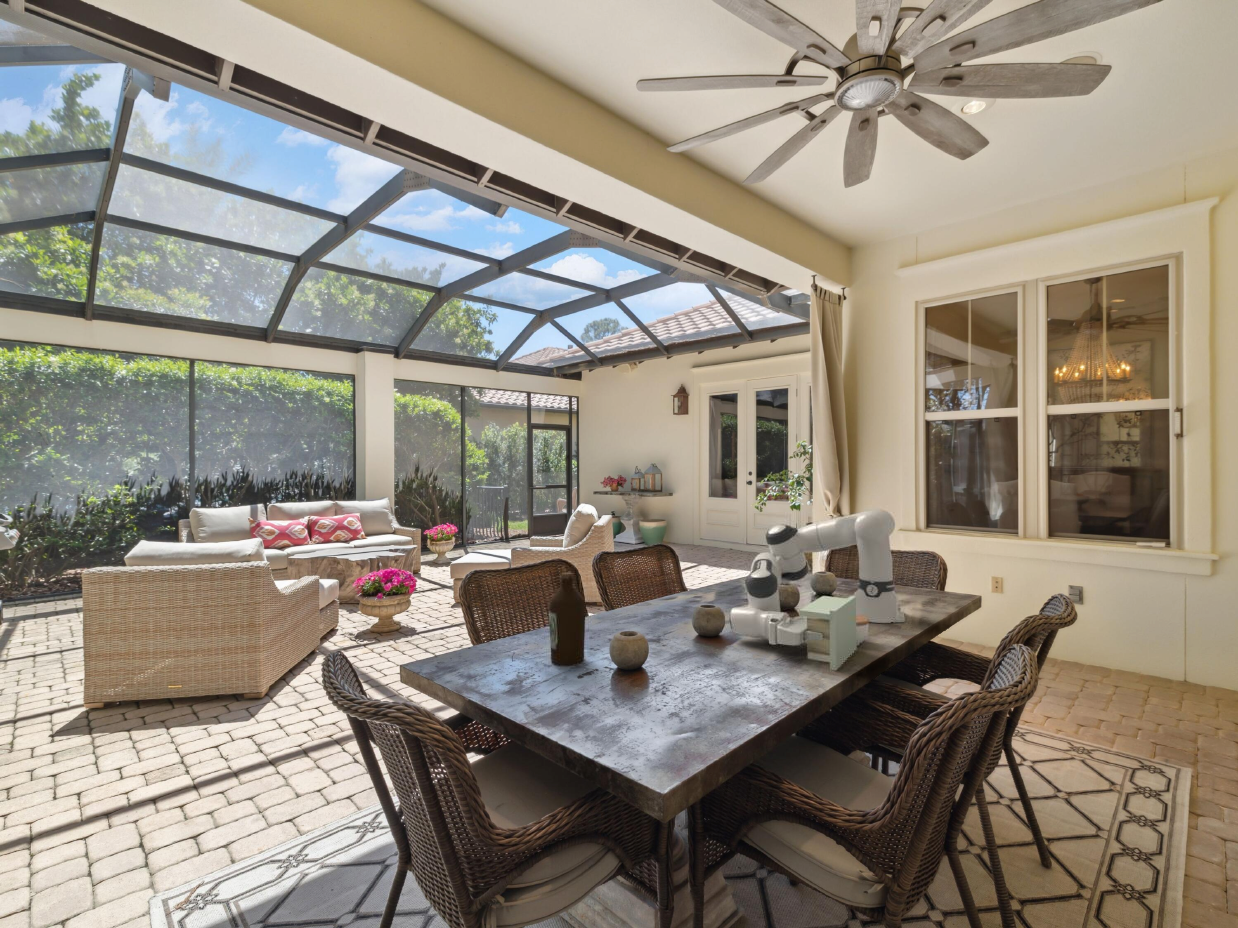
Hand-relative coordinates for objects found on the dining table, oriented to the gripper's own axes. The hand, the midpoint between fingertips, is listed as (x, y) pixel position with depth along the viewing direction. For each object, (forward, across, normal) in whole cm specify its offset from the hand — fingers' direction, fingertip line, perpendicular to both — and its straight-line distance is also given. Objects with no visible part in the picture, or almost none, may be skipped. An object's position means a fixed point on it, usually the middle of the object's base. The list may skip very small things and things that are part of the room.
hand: (826, 633), depth 172 cm
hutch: (+1, 0, -6) cm, 6 cm away
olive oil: (-60, +45, -7) cm, 75 cm away
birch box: (-1, 0, -6) cm, 6 cm away
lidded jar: (+2, -18, -7) cm, 19 cm away
